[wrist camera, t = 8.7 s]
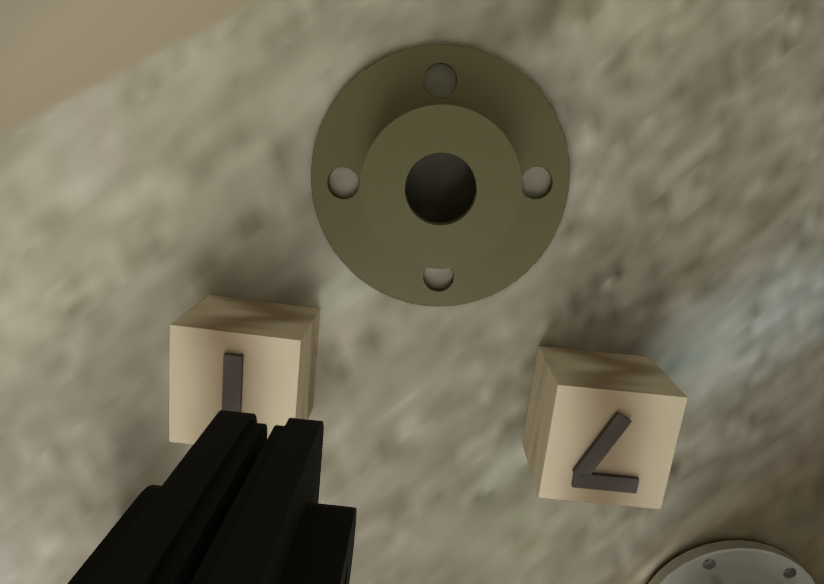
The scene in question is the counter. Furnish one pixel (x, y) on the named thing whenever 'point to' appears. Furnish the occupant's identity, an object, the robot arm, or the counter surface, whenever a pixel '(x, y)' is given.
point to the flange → (440, 133)
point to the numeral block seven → (601, 427)
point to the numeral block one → (241, 363)
